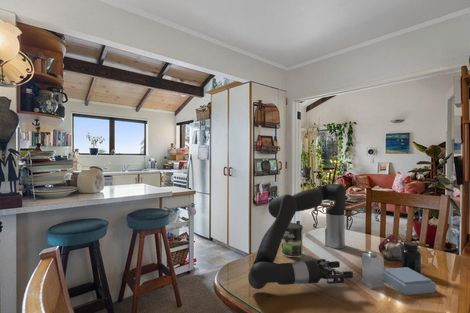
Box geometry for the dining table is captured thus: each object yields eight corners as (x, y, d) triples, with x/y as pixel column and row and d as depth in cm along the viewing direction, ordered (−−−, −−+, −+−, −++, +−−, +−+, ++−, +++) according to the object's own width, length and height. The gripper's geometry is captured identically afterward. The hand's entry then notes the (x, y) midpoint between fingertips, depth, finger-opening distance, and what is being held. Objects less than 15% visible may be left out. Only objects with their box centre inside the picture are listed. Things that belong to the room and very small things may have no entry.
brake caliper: (397, 247, 125) (404, 233, 117) (407, 269, 116) (415, 254, 109) (373, 246, 126) (378, 232, 119) (380, 267, 118) (387, 253, 110)
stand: (404, 295, 87) (404, 283, 87) (380, 278, 99) (380, 268, 99) (435, 292, 88) (435, 280, 88) (407, 276, 100) (407, 266, 100)
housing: (370, 289, 91) (370, 255, 91) (360, 281, 97) (360, 249, 97) (385, 288, 92) (385, 254, 92) (374, 280, 97) (374, 248, 97)
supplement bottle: (418, 270, 105) (417, 241, 105) (424, 277, 99) (424, 247, 99) (399, 268, 108) (398, 240, 108) (404, 275, 101) (403, 245, 101)
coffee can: (296, 259, 117) (296, 229, 117) (277, 254, 124) (277, 225, 124) (306, 253, 125) (306, 225, 125) (288, 248, 132) (288, 221, 132)
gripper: (312, 270, 83) (357, 267, 86) (296, 254, 98) (335, 251, 100) (312, 293, 83) (357, 289, 86) (296, 273, 98) (335, 270, 100)
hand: (345, 269), depth 93 cm, fingers open, 8 cm apart
